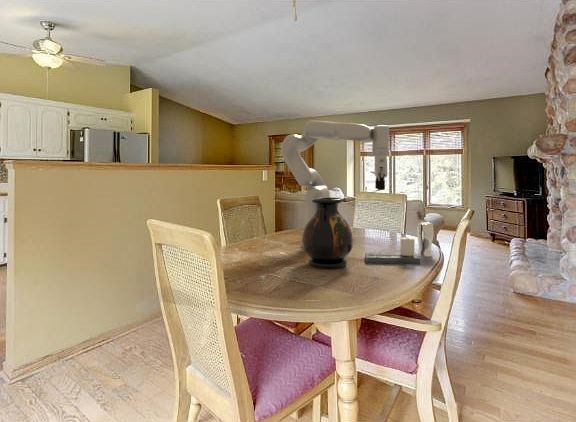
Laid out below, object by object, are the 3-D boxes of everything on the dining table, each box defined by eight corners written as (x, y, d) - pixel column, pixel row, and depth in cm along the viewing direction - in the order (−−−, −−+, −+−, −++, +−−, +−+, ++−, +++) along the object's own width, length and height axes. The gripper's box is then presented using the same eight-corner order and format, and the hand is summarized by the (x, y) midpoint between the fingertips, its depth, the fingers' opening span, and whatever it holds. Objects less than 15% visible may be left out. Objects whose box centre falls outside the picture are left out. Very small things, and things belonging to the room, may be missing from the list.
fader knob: (402, 255, 150) (402, 239, 149) (400, 253, 154) (400, 237, 153) (414, 255, 149) (414, 239, 149) (412, 253, 153) (412, 237, 153)
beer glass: (434, 257, 157) (435, 224, 156) (417, 257, 159) (418, 224, 157) (431, 253, 164) (432, 222, 163) (415, 253, 166) (416, 221, 164)
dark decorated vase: (348, 273, 136) (348, 201, 132) (295, 269, 143) (294, 200, 140) (357, 260, 156) (357, 196, 153) (310, 256, 163) (309, 196, 160)
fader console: (366, 263, 150) (366, 257, 150) (364, 258, 159) (364, 252, 159) (420, 264, 147) (420, 258, 147) (415, 258, 156) (415, 253, 156)
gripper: (391, 151, 156) (390, 190, 158) (386, 153, 173) (385, 188, 175) (374, 151, 157) (373, 190, 159) (370, 153, 174) (370, 188, 176)
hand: (379, 189), depth 167 cm, fingers open, 9 cm apart
